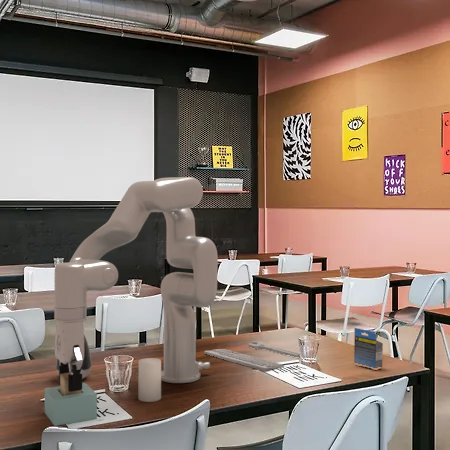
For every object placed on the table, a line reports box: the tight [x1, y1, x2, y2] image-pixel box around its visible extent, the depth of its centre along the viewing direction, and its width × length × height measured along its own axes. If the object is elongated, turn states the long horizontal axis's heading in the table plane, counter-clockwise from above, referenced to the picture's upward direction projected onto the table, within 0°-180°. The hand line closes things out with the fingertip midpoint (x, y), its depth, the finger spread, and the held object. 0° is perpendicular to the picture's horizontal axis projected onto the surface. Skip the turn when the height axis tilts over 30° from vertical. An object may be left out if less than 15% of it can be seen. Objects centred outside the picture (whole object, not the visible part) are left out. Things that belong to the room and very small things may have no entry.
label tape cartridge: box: [353, 327, 384, 368], centre depth 186 cm, size 9×4×12 cm, turn 37°
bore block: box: [44, 382, 98, 427], centre depth 139 cm, size 10×10×6 cm
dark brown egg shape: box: [55, 334, 93, 380], centre depth 170 cm, size 10×10×15 cm
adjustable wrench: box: [247, 340, 301, 358], centre depth 205 cm, size 25×6×2 cm, turn 38°
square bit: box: [59, 373, 81, 396], centre depth 139 cm, size 4×4×10 cm
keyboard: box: [203, 348, 285, 372], centre depth 193 cm, size 29×10×2 cm, turn 43°
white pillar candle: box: [137, 357, 162, 403], centre depth 153 cm, size 6×6×10 cm
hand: (70, 385), depth 139 cm, fingers open, 7 cm apart
